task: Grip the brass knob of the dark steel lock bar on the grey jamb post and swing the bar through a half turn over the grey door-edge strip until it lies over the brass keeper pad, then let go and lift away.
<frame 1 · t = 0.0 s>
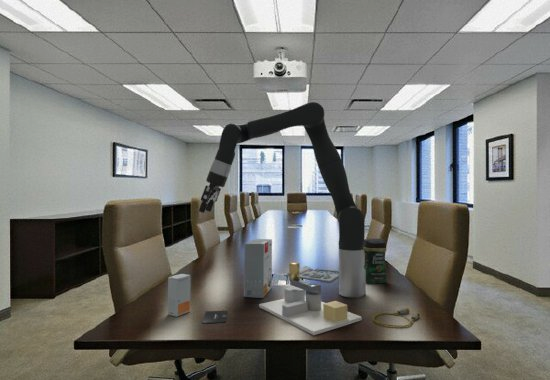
hand: (204, 211, 134), 31 cm above the table, tool tilted 20°, fingers open, 8 cm apart
solid state drive: (215, 319, 106), on the table
hard drive box: (258, 292, 132), on the table
extension cord: (397, 322, 102), on the table
lock bar: (304, 277, 114), point 10 cm above the table, hinge at 0.0°
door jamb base: (313, 311, 110), on the table
grey patterned tray: (315, 276, 160), on the table
skincare box: (179, 313, 109), on the table
coffee jar: (375, 282, 146), on the table
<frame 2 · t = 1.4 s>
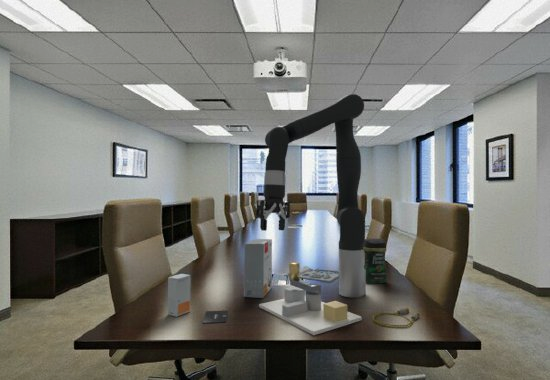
hand: (272, 230, 119), 25 cm above the table, tool pointing down, fingers open, 8 cm apart
nothing on the table moved.
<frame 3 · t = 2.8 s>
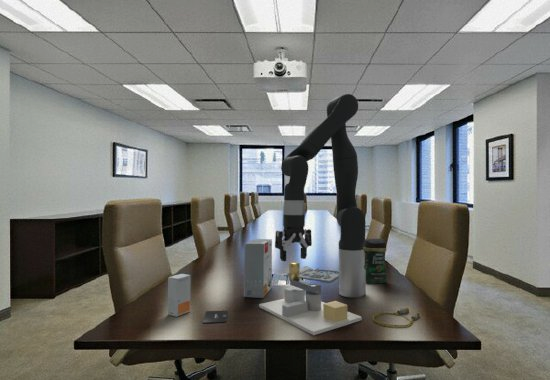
hand: (293, 259, 118), 15 cm above the table, tool pointing down, fingers open, 8 cm apart
nothing on the table moved.
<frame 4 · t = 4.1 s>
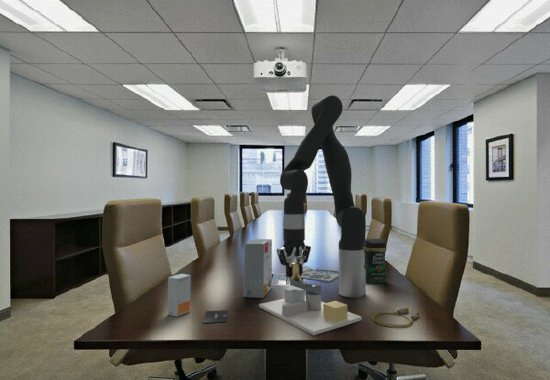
hand: (294, 276, 118), 9 cm above the table, tool pointing down, fingers closed on lock bar, 3 cm apart
lock bar: (304, 277, 114), point 10 cm above the table, hinge at 0.1°, touching gripper
everything else where it was.
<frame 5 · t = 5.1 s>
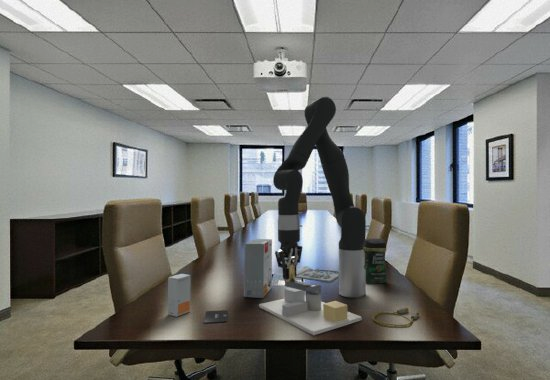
hand: (289, 277, 117), 9 cm above the table, tool pointing down, fingers closed on lock bar, 3 cm apart
lock bar: (301, 277, 113), point 10 cm above the table, hinge at 14.0°, touching gripper
everything else where it was.
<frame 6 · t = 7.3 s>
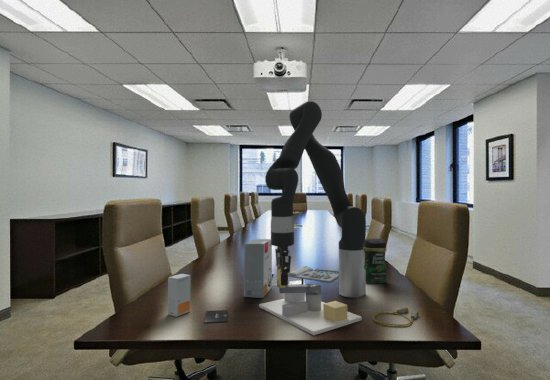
hand: (283, 283, 109), 9 cm above the table, tool pointing down, fingers closed on lock bar, 3 cm apart
lock bar: (298, 280, 110), point 10 cm above the table, hinge at 59.2°, touching gripper
everything else where it was.
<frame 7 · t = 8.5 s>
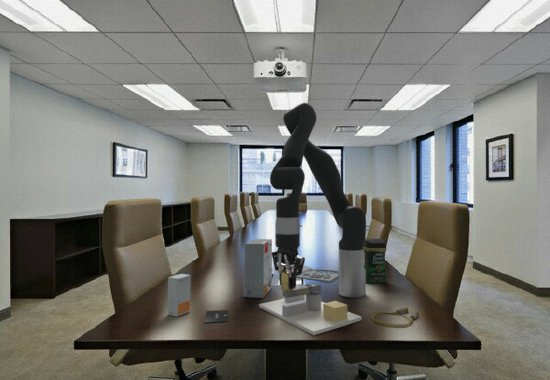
hand: (287, 286, 105), 9 cm above the table, tool pointing down, fingers closed on lock bar, 3 cm apart
lock bar: (301, 281, 108), point 10 cm above the table, hinge at 86.4°, touching gripper
everything else where it was.
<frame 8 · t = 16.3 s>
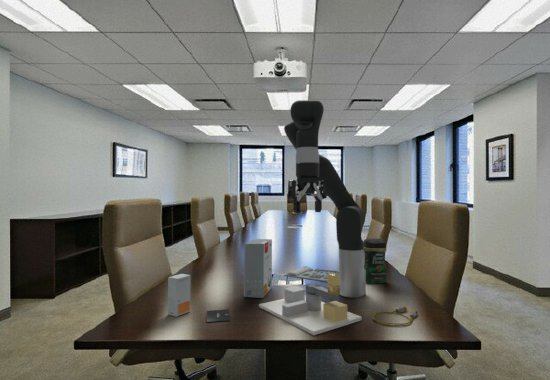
hand: (307, 212, 109), 32 cm above the table, tool pointing down, fingers open, 8 cm apart
lock bar: (322, 283, 106), point 10 cm above the table, hinge at 176.5°
at the end: lock bar at +176° (first picture: +0°); the gripper is holding nothing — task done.
